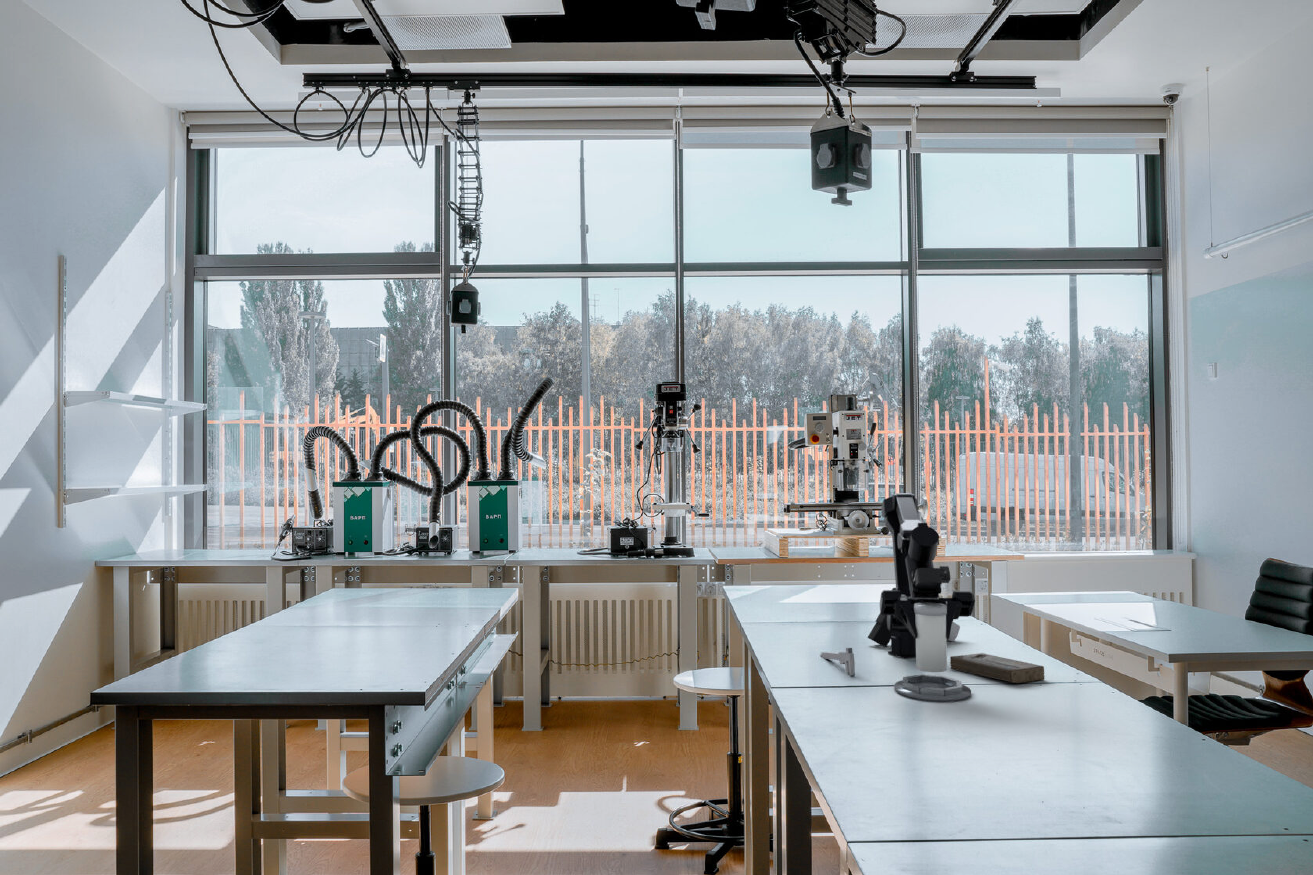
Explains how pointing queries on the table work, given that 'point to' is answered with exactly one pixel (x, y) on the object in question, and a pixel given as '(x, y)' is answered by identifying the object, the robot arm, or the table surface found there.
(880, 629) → the handheld device
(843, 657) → the caliper
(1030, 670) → the box
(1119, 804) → the table surface
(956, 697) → the collar
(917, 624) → the capped white cylinder
